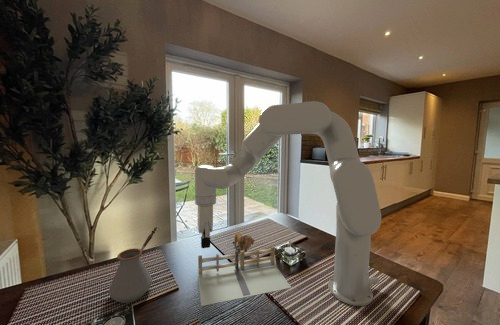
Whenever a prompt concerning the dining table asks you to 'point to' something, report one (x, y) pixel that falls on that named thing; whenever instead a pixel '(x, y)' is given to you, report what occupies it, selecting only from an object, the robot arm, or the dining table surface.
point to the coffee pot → (131, 275)
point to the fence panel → (218, 262)
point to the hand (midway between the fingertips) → (205, 246)
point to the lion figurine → (243, 241)
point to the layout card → (240, 282)
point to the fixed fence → (271, 258)
